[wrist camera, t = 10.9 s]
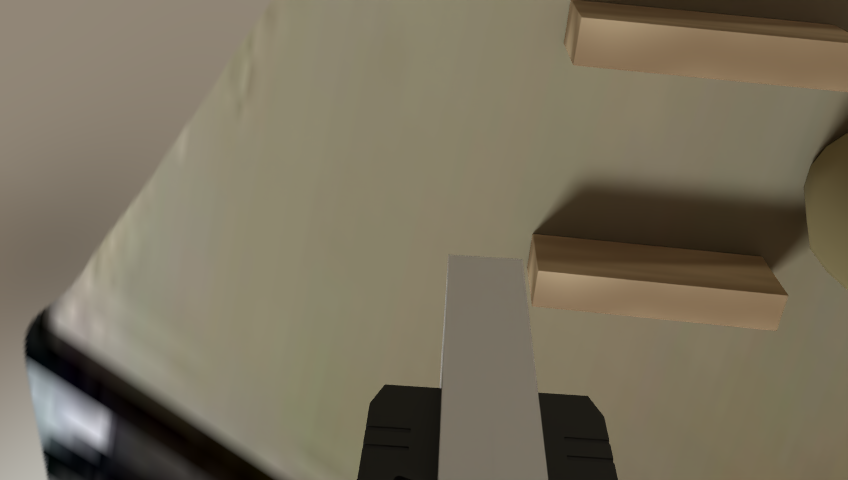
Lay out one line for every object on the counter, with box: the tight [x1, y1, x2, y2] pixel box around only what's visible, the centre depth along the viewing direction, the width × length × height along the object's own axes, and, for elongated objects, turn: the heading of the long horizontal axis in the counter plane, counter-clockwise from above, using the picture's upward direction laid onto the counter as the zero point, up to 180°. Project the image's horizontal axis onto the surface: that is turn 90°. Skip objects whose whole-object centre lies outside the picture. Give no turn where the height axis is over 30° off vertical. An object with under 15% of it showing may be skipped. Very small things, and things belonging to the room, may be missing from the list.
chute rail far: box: [527, 234, 788, 331], centre depth 41 cm, size 2×12×4 cm, turn 85°
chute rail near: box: [564, 0, 848, 92], centre depth 35 cm, size 2×12×4 cm, turn 85°
